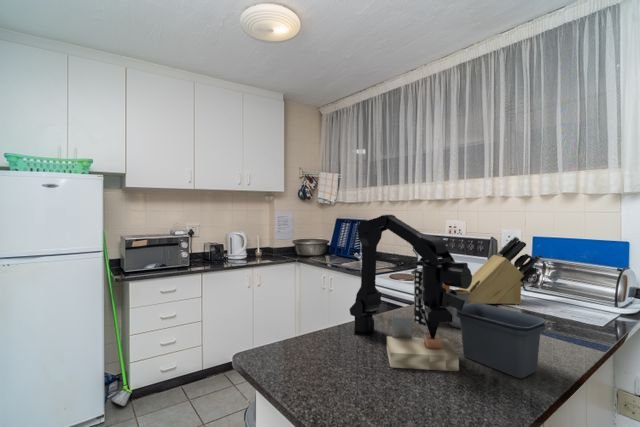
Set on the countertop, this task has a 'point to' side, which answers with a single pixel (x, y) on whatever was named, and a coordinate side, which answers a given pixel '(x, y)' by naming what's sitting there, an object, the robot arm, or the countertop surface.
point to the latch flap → (401, 327)
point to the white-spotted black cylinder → (417, 290)
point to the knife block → (502, 276)
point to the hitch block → (421, 355)
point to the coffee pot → (464, 295)
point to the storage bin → (501, 338)
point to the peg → (432, 342)
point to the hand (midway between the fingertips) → (432, 336)
